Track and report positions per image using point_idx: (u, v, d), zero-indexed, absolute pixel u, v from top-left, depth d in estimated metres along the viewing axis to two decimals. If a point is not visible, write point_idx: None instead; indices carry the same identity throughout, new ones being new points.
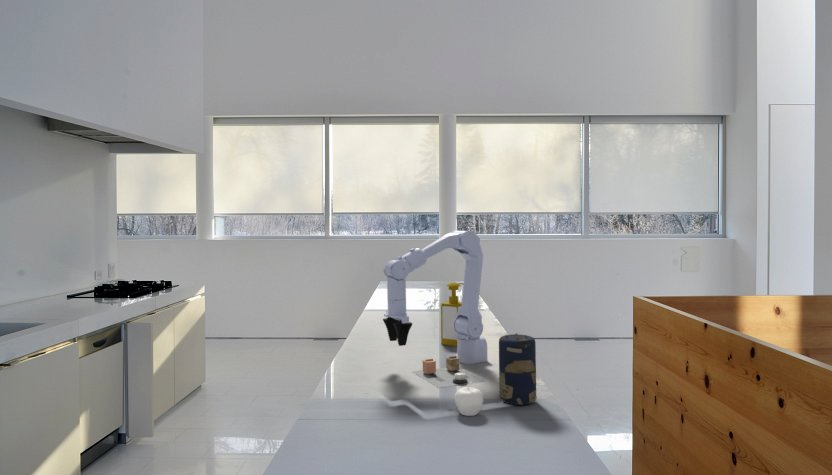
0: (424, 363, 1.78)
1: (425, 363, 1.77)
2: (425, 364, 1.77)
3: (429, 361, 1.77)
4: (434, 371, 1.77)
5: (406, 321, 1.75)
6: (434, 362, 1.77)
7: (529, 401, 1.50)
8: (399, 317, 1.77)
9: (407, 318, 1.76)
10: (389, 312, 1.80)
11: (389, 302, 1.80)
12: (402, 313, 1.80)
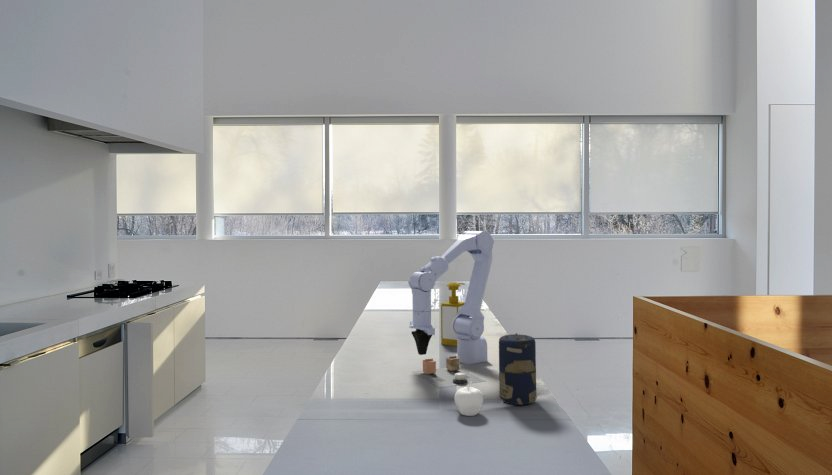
0: (424, 363, 1.78)
1: (425, 363, 1.77)
2: (425, 364, 1.77)
3: (429, 361, 1.77)
4: (434, 371, 1.77)
5: (432, 333, 1.76)
6: (434, 362, 1.77)
7: (529, 401, 1.50)
8: (425, 329, 1.77)
9: (433, 330, 1.76)
10: (414, 323, 1.81)
11: (414, 314, 1.81)
12: (427, 324, 1.80)
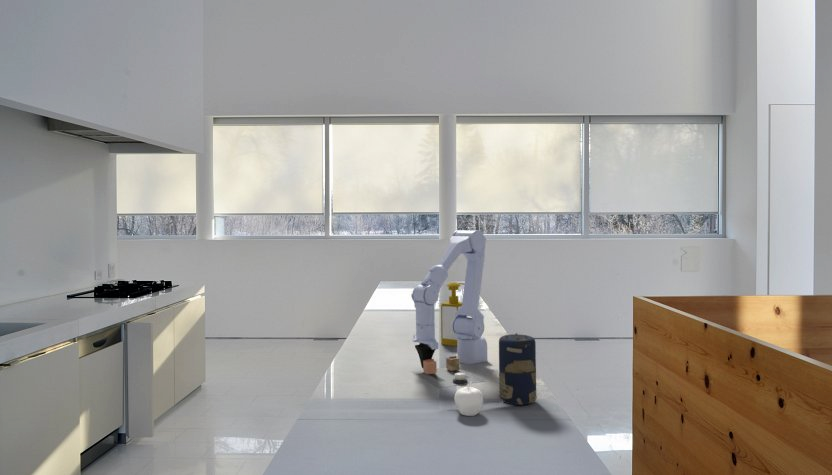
0: (425, 363, 1.77)
1: (426, 363, 1.77)
2: (426, 364, 1.77)
3: (430, 361, 1.77)
4: (435, 371, 1.77)
5: (436, 347, 1.74)
6: (435, 362, 1.77)
7: (529, 401, 1.50)
8: (428, 343, 1.75)
9: (437, 344, 1.74)
10: (418, 337, 1.79)
11: (418, 327, 1.79)
12: (431, 338, 1.78)
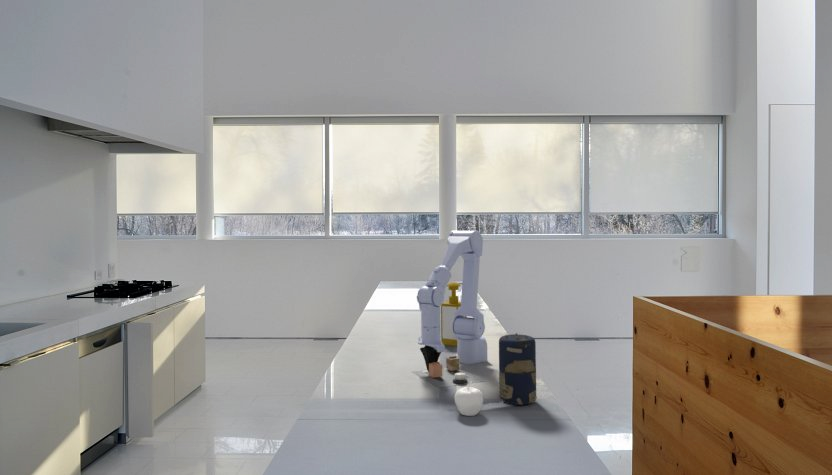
0: (430, 366, 1.74)
1: (431, 366, 1.73)
2: (432, 367, 1.73)
3: (435, 364, 1.73)
4: (441, 375, 1.73)
5: (442, 350, 1.70)
6: (441, 365, 1.73)
7: (529, 401, 1.50)
8: (434, 345, 1.71)
9: (443, 347, 1.70)
10: (423, 340, 1.75)
11: (423, 330, 1.75)
12: (437, 341, 1.74)
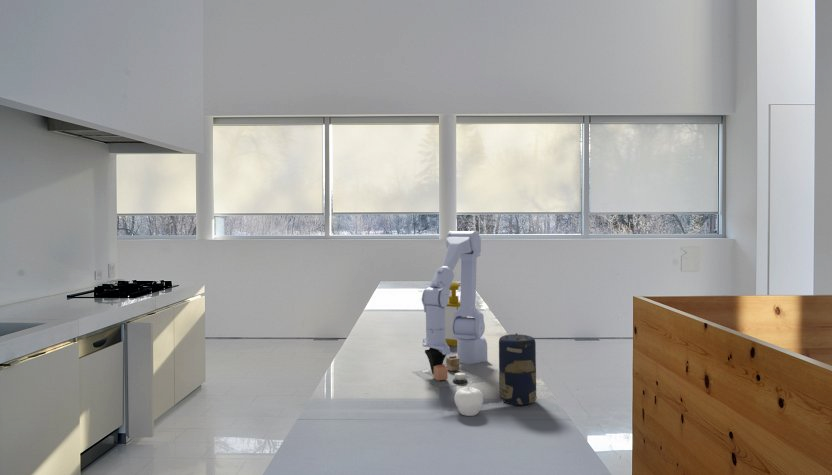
0: (435, 369, 1.71)
1: (436, 369, 1.70)
2: (437, 370, 1.70)
3: (440, 367, 1.70)
4: (446, 377, 1.70)
5: (447, 352, 1.67)
6: (446, 368, 1.70)
7: (529, 401, 1.50)
8: (439, 348, 1.68)
9: (448, 349, 1.67)
10: (428, 342, 1.72)
11: (428, 332, 1.72)
12: (442, 343, 1.71)
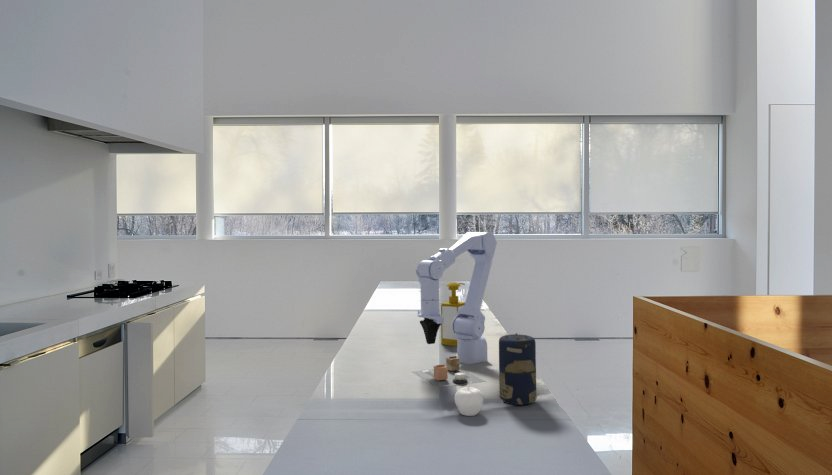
0: (435, 369, 1.71)
1: (436, 369, 1.70)
2: (437, 370, 1.70)
3: (440, 367, 1.70)
4: (446, 377, 1.70)
5: (441, 321, 1.74)
6: (446, 368, 1.70)
7: (529, 401, 1.50)
8: (434, 317, 1.75)
9: (442, 318, 1.74)
10: (423, 312, 1.79)
11: (422, 302, 1.78)
12: (436, 313, 1.78)
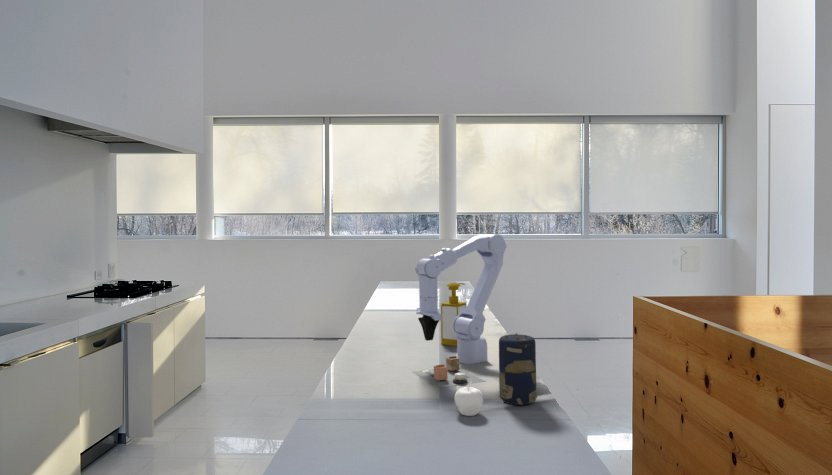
0: (435, 369, 1.71)
1: (436, 369, 1.70)
2: (437, 370, 1.70)
3: (440, 367, 1.70)
4: (446, 377, 1.70)
5: (439, 318, 1.78)
6: (446, 368, 1.70)
7: (529, 401, 1.50)
8: (432, 314, 1.80)
9: (440, 315, 1.79)
10: (421, 309, 1.83)
11: (421, 300, 1.83)
12: (434, 310, 1.83)
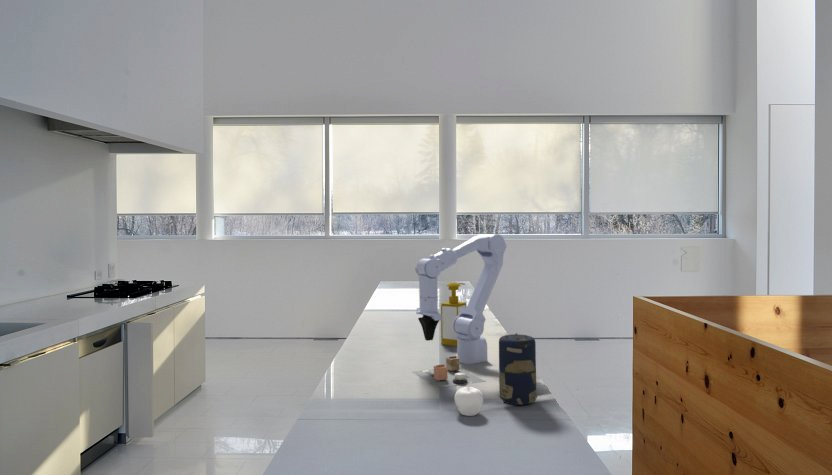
0: (435, 369, 1.71)
1: (436, 369, 1.70)
2: (437, 370, 1.70)
3: (440, 367, 1.70)
4: (446, 377, 1.70)
5: (439, 318, 1.78)
6: (446, 368, 1.70)
7: (529, 401, 1.50)
8: (432, 314, 1.80)
9: (440, 315, 1.79)
10: (421, 309, 1.83)
11: (421, 300, 1.83)
12: (434, 310, 1.83)
